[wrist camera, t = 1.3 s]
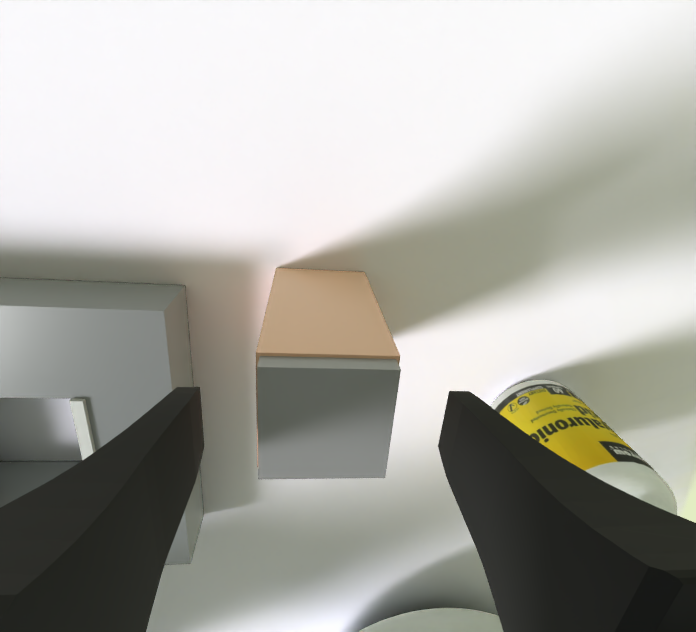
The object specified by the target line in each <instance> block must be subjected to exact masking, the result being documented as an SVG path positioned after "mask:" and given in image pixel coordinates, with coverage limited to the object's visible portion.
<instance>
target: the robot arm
mask: <svg viewBox="0 0 696 632" xmlns="http://www.w3.org/2000/svg"><path fill="white" fill-rule="evenodd" d="M438 447H439V451H440V455H441V459H442V463H443V466H444V470H445V473H446V477H447V479H448V482H449V484H450V487H451V489H452V492H453V494H454V496H455V499H456V501H457V503H458V506H459V508H460V510H461V513H462V515H463V518H464V520H465V522H466V525H467V527H468V529H469V532H470V534H471V536H472V539H473V541H474V543H475V546H476V548H477V551H478V553H479V556H480V558H481V561H482V564H483V567H484V570H485V573H486V576H487V579H488V582H489V586H490V589H491V592H492V595H493V598H494V601H495V605H496V608H497V612H498V615H499V618H500V622H501V625H502V629H503V632H696V523H694V522H692V521H689V520H687V519H684V518H682V517H680V516H677V515H675V514H672V513H670V512H668V511H665V510H663V509H660V508H658V507H656V506H654V505H652V504H649V503H647V502H645V501H643V500H640V499H638V498H636V497H634V496H632V495H630V494H628V493H626V492H624V491H622V490H620V489H618V488H616V487H614V486H612V485H610V484H608V483H606V482H604V481H602V480H600V479H598V478H597V477H595V476H593V475H591V474H590V473H588V472H586V471H584V470H583V469H581V468H579V467H577V466H576V465H574V464H572V463H570V462H569V461H567V460H566V459H564V458H562V457H561V456H559V455H558V454H556V453H554V452H553V451H551V450H550V449H548V448H547V447H545V446H544V445H542V444H541V443H539V442H538V441H537V440H535V439H534V438H532V437H531V436H529V435H528V434H527V433H525V432H524V431H522V430H521V429H520V428H518V427H517V426H516V425H514V424H513V423H511V422H510V421H509V420H507V419H506V418H505V417H503V416H502V415H501V414H500V413H498V412H497V411H496V410H494V409H493V408H492V407H490V406H489V405H488V404H486V403H485V402H484V401H482V400H481V399H479V398H478V397H477V396H475V395H474V394H472V393H471V392H469V391H449V395H448V400H447V405H446V410H445V415H444V420H443V425H442V430H441V435H440V440H439V444H438ZM203 449H204V437H203V423H202V410H201V397H200V387H177V388H175V389H174V390H173V391H172V392H170V393H169V394H168V395H167V396H166V397H164V398H163V399H162V400H161V401H160V402H158V403H157V404H156V405H155V406H154V407H152V408H151V409H150V410H149V411H148V412H147V413H145V414H144V415H143V416H142V417H140V418H139V419H138V420H137V421H135V422H134V423H133V424H132V425H131V426H129V427H128V428H127V429H125V430H124V431H123V432H121V433H120V434H119V435H117V436H116V437H115V438H113V439H112V440H111V441H109V442H108V443H106V444H105V445H104V446H102V447H101V448H100V449H98V450H97V451H96V452H94V453H93V454H91V455H90V456H88V457H87V458H85V459H84V460H82V461H81V462H79V463H78V464H76V465H75V466H73V467H71V468H70V469H68V470H67V471H65V472H63V473H62V474H60V475H58V476H57V477H55V478H54V479H52V480H50V481H48V482H47V483H45V484H43V485H41V486H39V487H38V488H36V489H34V490H32V491H30V492H28V493H26V494H25V495H23V496H21V497H19V498H17V499H15V500H14V501H12V502H10V503H8V504H6V505H4V506H2V507H0V632H146V629H147V625H148V621H149V617H150V614H151V610H152V606H153V603H154V599H155V595H156V592H157V588H158V584H159V581H160V577H161V574H162V571H163V568H164V565H165V562H166V559H167V556H168V553H169V551H170V548H171V545H172V543H173V540H174V538H175V535H176V532H177V530H178V527H179V524H180V522H181V519H182V516H183V514H184V511H185V509H186V506H187V503H188V501H189V498H190V495H191V492H192V490H193V487H194V484H195V482H196V478H197V474H198V470H199V466H200V462H201V458H202V453H203Z"/></svg>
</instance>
